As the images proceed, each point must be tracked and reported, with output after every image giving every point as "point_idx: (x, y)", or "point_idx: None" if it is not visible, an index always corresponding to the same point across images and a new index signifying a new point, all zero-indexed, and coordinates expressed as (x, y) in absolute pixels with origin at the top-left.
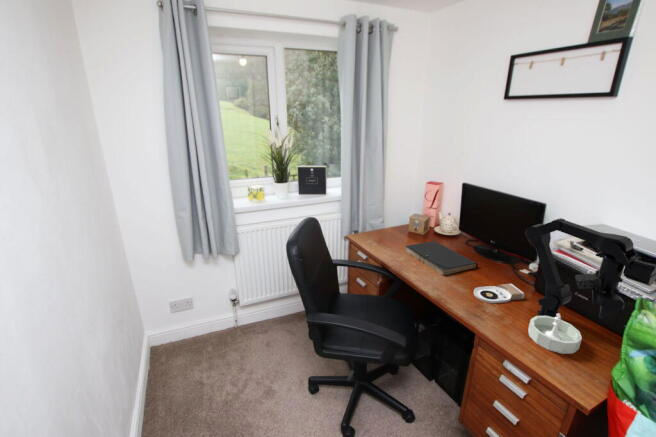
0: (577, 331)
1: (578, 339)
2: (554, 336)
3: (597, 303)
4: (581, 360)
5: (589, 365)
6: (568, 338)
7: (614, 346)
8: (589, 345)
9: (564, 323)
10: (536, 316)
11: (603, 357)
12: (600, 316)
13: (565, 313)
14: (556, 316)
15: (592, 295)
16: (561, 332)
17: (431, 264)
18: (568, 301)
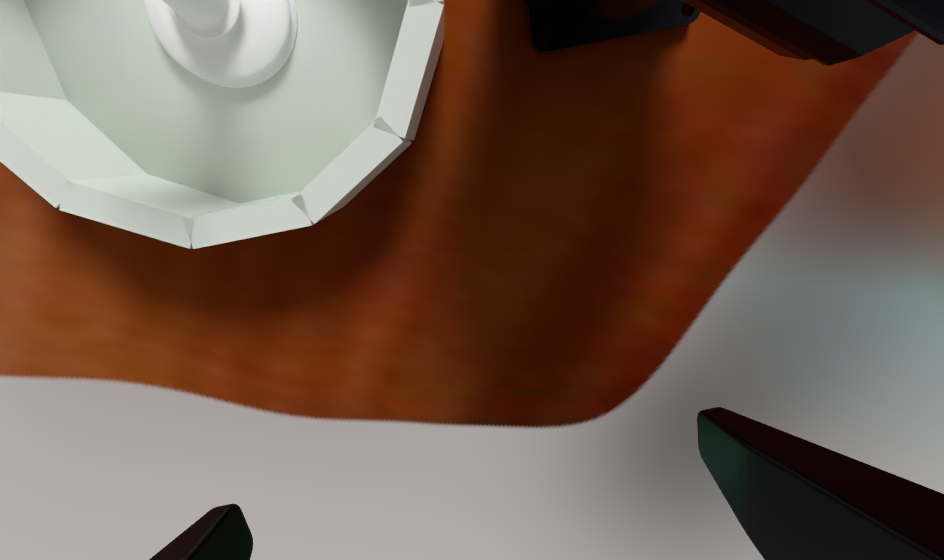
0: (295, 207)
1: (136, 220)
2: (169, 13)
3: (717, 484)
4: (100, 246)
5: (84, 294)
6: (310, 146)
7: (469, 420)
8: (362, 290)
9: (389, 77)
10: None
11: (271, 367)
12: (176, 543)
13: (777, 107)
14: (590, 6)
15: (915, 488)
16: (369, 84)
17: None
18: (743, 29)
